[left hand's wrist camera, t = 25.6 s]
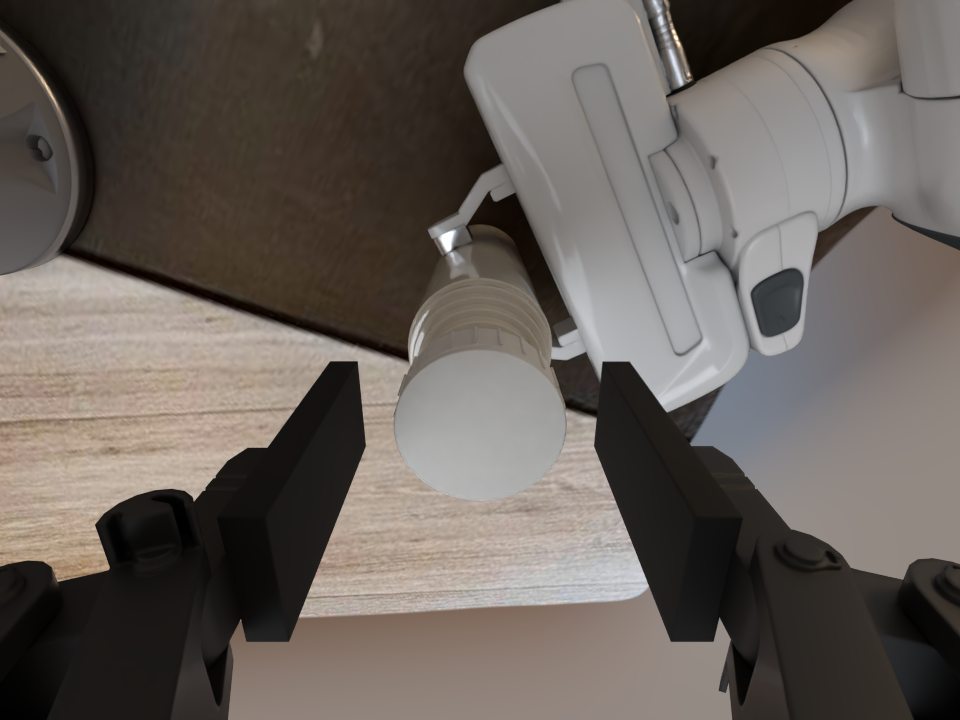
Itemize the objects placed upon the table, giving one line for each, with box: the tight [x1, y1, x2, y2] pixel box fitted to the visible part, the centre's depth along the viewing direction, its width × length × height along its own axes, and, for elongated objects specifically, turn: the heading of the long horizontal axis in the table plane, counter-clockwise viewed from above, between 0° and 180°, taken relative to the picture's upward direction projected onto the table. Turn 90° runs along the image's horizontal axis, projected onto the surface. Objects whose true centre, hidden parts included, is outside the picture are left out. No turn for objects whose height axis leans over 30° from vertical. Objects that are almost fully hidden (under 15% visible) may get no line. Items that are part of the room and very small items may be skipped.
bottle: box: [408, 225, 552, 367], centre depth 23 cm, size 5×5×20 cm
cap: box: [394, 326, 566, 501], centre depth 14 cm, size 5×5×2 cm
